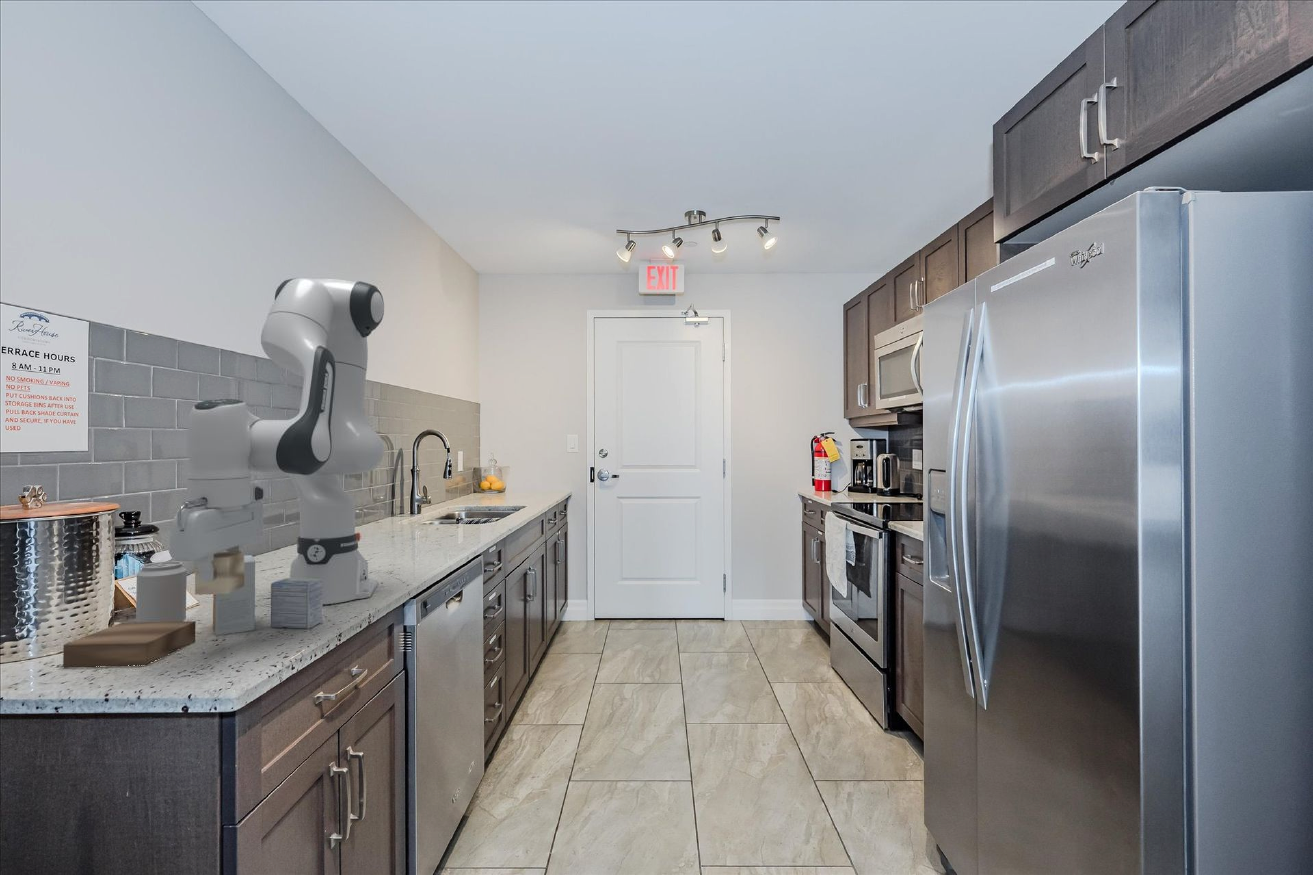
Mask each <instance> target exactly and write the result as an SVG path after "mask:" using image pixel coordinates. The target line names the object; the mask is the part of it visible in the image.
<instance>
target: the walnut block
mask: <svg viewBox="0 0 1313 875" xmlns="http://www.w3.org/2000/svg"><path fill="white" fill-rule="evenodd" d="M191 643H192V644H194V643H196V621H189V620H188V621H187V620H186V621H183V622H136V621H135V622H134V621H133V622H128V621H127V622H121V623H118V624H115V625H113V626H112V625H111V626H110V627H107V628H104V629H101V630H100V631H96V632H94V633H91V634H89V635H86V636H83V637H81V638H78V639H76V640H73V641H70V642H67V643H66V644H63V653H62V654H63V656H62V660H63V661H62V665H63V666H62V668H63V667H92V668H101V667H100V666H128V665H129V666H133V665H135V666H137V665H138V666H137V667H142V666H141V665H148V664H150V663H151V662H154V661H155V660H158V659H160V658H162V657H164V656H166V657H168V656H169V655H168V654H170V655H171V653H172V654H173V652H174V653H176V652H177V650H178V649H180V650H181V648H182V647H184V648H185V646H186V647H187V645H188V646H190V645H192V644H191ZM182 649H183V648H182ZM178 651H179V650H178ZM167 655H168V656H167ZM164 658H165V657H164ZM162 659H163V658H162ZM160 660H161V659H160ZM158 661H159V660H158ZM154 663H155V662H154ZM139 665H140V666H139ZM150 665H151V664H150ZM96 666H97V667H96ZM98 666H99V667H98ZM148 666H149V665H148Z"/></svg>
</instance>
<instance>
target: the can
mask: <svg viewBox="0 0 1313 875" xmlns="http://www.w3.org/2000/svg"><path fill="white" fill-rule="evenodd" d="M140 568H141V569H140V570H139V572H137V574H136V593H135V594H136V595H135V598H136V602H135V604H136V605H135V622H185V620H186V619H187V575H188V572H187V571H188V570H187V568H185V567H184V566H183V561H174V560H170V561H169V560H168V561H167V560H166V561H165V560H164V561H156V562H151V563H150V562H149V563H145V564H143V565H140Z"/></svg>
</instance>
